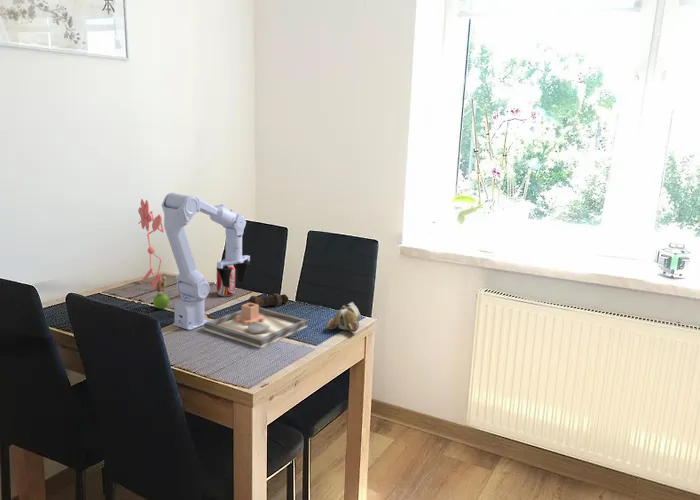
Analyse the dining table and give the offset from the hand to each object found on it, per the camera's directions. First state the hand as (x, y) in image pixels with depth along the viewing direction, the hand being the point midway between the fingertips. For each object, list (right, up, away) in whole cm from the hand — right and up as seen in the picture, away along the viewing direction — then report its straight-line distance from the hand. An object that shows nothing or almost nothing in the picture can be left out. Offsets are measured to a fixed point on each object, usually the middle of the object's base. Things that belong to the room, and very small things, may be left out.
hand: (233, 284), depth 217 cm
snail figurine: (-26, -9, 0) cm, 27 cm away
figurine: (-39, -3, +22) cm, 45 cm away
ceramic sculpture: (+40, -15, -10) cm, 44 cm away
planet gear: (+7, -12, -10) cm, 17 cm away
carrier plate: (+11, -14, -15) cm, 23 cm away
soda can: (-7, -5, +19) cm, 20 cm away
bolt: (+12, -9, +7) cm, 17 cm away
